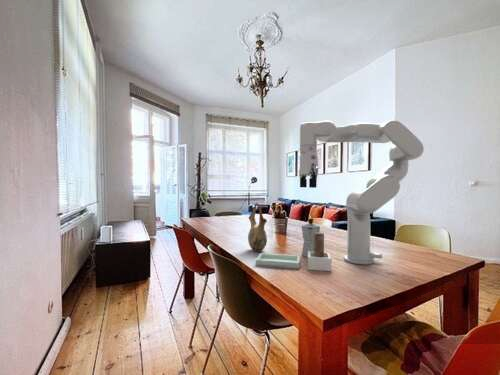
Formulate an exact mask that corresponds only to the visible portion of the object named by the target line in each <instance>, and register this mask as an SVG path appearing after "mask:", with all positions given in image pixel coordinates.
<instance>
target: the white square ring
mask: <svg viewBox="0 0 500 375" xmlns="http://www.w3.org/2000/svg"><path fill="white" fill-rule="evenodd" d="M307 270H311V271H312V270H313V271H326V272H332V256H331V255H330V252H325V251H324V257H314V252H311V251H308V258H307Z"/></svg>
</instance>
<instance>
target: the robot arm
mask: <svg viewBox="0 0 500 375" xmlns="http://www.w3.org/2000/svg"><path fill="white" fill-rule="evenodd" d="M299 127H300V128H299V154H300V157H299V158H300V159H299V170H298V173H299V187H300V188H307V186H308V185H309V186H308V187H309V188H311V189H312V188H314V189H315V188H317V186H318V185H317V179H318V174H319V159H318V158H319V157H318V152H317V151H318V148H317V147H318V144H317V143H318V141H319V142H322V143H371V144H387V143H390V142H391V143H392V144H393V145H392V146H391V148H390V150H389V151H388V152H389V153H388V154H389V156H388V157H389V162H388V164H387V166H385V167H384V168H383V169H382V170H381V171H380V172H378V173H377V174H376V175H374V176H372V178H370V180H368V181H367V183H366V186H365V188H366V189H365V190H354V191H351V193H349V194H348V196H347V197H346V201H345V204H346V205H345V206H346V207H345V208H346V213H347V214H346V217H347V231H346V232H347V235H346V236H347V240H346V241H347V246H346V247H347V249H346V250H347V251H346V253H347V254H344V256H343V260H344V261H345V262H348V263H351V264H355V265H372V264H374V263H375V260H374V259H383V254H382V253H377V252H372V250H371V215H370V214H373V213H375V212H376V211H378V210H379V209H381V208H382V207H383V206H384V205H386V204H387V203H389V202H390V201H391V200H392V199H394V198H395V197H396V196H397V195H398V193H399V192H400V189H401V188H400V187H401V184H400V183H401V181H402V180H403V179H405V177H406V175H407V174H408V171H409V161H414V160H417V159H418V158H420V157H421V156H422V155H423V153H424V149H425V148H424V145H423V142H422V141H421V140H420V139H419V138H418V137H417V136H416V135H415V134H414V133H413V132H412V131H411V130H410V129H409V128H407V126H406V125H404V124H403V123H401V121H399V120H397V119H391V120H387V121H386V122H383V123H372V122H371V123H370V122H356V123H351V124H347V125H344V126H336V124H335V123H334V122H332V121H330V120H323V121H317V122H313V121H307V122H303V123H301V124H300V126H299ZM307 176H309V177H310V178H308V179H309V180H308V181H309V183H308V185H307V182H308V181H307Z"/></svg>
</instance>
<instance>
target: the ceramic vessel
mask: <svg viewBox="0 0 500 375" xmlns="http://www.w3.org/2000/svg"><path fill="white" fill-rule="evenodd" d="M257 206H258V207H257ZM257 208H258V212H259V214H258V216H259V217H258V218H259V221H258V224H257V221H256V209H257ZM248 220H249V222H250V229H249V231H248V235H247V241H248V245H249V247H250V248H251V250H252V251H254V252H256V253H257V252H258V253H259V252H260V253H261V252H262V251H264V249H265V248H266V246H267V243H268V242H267V241H268V237H267V232H266V229H265V227H266V226H265V225H266V224H267V222H268V220H267V219H266V218H264V215H263V211H262V206H261V204H260V203H259V202H256V203H255V204H254V205H253V209H252V211H251V213H250V214H249V216H248Z"/></svg>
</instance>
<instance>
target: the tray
mask: <svg viewBox="0 0 500 375" xmlns="http://www.w3.org/2000/svg"><path fill="white" fill-rule="evenodd" d="M300 263H301V256H300V255H297V254H296V255H295V254H281V253H265V252H260V253H259V255H258V256H256V259H255V267H266V268H267V267H268V268H279V269H281V268H282V269H293V270H300Z"/></svg>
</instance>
